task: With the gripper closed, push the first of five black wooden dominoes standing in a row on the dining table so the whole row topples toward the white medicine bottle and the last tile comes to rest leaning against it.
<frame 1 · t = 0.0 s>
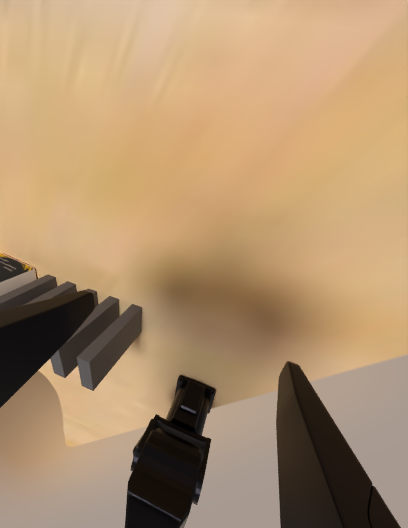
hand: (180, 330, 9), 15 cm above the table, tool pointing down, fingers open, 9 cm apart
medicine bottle: (23, 276, 35), on the table
domino 5: (54, 288, 34), on the table
domino 2: (114, 310, 32), on the table
domino 1: (137, 318, 31), on the table
domino 4: (73, 295, 33), on the table
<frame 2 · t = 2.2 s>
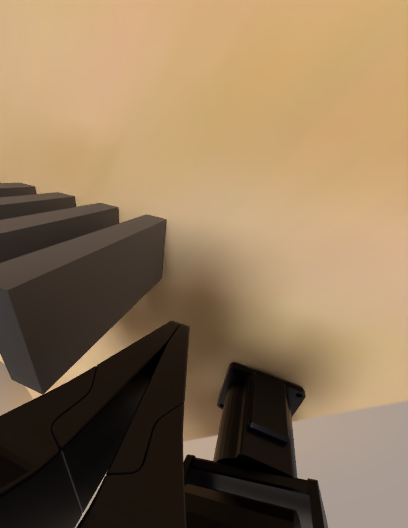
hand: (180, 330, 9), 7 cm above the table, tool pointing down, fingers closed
domino 2: (110, 235, 16), on the table
domino 1: (154, 248, 16), on the table
domino 4: (33, 214, 18), on the table
domino 3: (70, 224, 17), on the table
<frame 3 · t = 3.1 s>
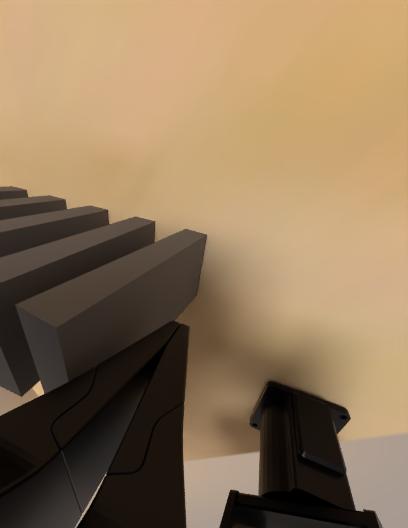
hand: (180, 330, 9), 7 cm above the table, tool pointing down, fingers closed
domino 5: (26, 217, 18), on the table
domino 2: (144, 250, 16), on the table
domino 1: (191, 263, 15), on the table, tilted 6°
domino 4: (62, 227, 17), on the table
domino 3: (101, 238, 16), on the table
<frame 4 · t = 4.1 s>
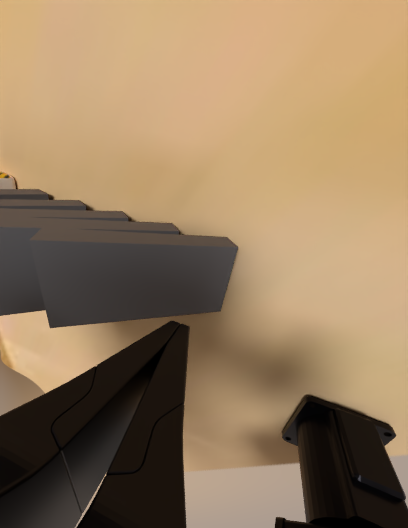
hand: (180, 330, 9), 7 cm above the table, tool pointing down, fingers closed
domino 5: (48, 222, 17), on the table, tilted 17°, touching domino 4, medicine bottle
domino 2: (171, 260, 14), point 1 cm above the table, tilted 48°, touching domino 1
domino 1: (223, 275, 14), point 1 cm above the table, tilted 54°, touching domino 2
domino 4: (85, 234, 16), on the table, tilted 30°, touching domino 3, domino 5
domino 3: (125, 246, 15), on the table, tilted 40°, touching domino 4
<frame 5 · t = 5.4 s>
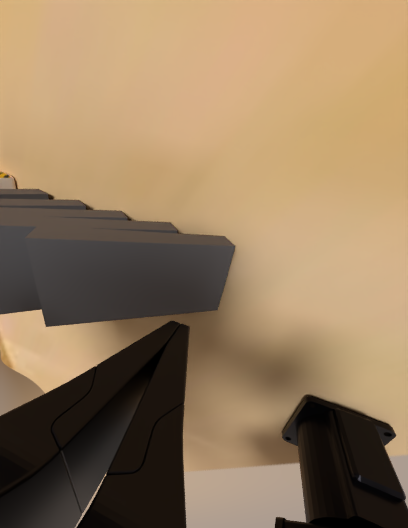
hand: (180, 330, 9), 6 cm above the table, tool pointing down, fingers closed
domino 5: (48, 222, 17), on the table, tilted 17°, touching domino 4, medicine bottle
domino 2: (169, 259, 14), point 1 cm above the table, tilted 48°, touching domino 1, domino 3
domino 1: (220, 274, 14), point 1 cm above the table, tilted 54°, touching domino 2
domino 4: (84, 234, 16), on the table, tilted 30°, touching domino 3, domino 5
domino 3: (124, 246, 15), on the table, tilted 40°, touching domino 2, domino 4
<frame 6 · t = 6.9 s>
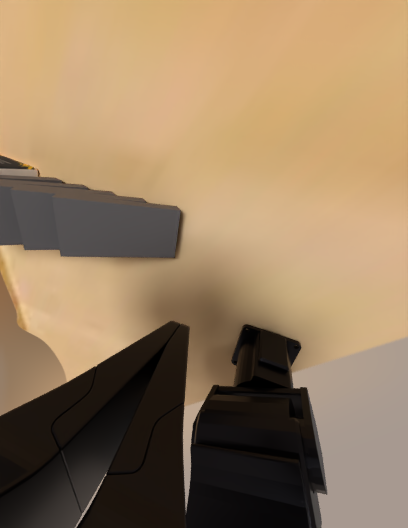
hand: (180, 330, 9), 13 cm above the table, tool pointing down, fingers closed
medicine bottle: (21, 190, 25), on the table, touching domino 5
domino 5: (61, 201, 24), on the table, tilted 17°, touching domino 4, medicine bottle
domino 2: (143, 223, 21), point 1 cm above the table, tilted 47°, touching domino 1, domino 3
domino 1: (175, 232, 21), point 1 cm above the table, tilted 53°, touching domino 2
domino 4: (87, 209, 23), on the table, tilted 30°, touching domino 3, domino 5
domino 3: (113, 216, 22), on the table, tilted 39°, touching domino 2, domino 4
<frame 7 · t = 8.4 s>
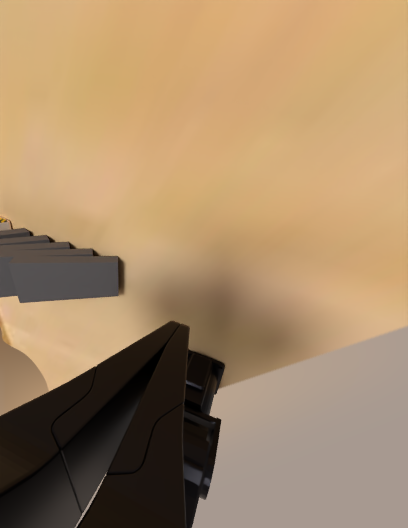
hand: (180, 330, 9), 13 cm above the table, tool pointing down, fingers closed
domino 5: (30, 246, 29), on the table, tilted 17°, touching domino 4, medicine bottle
domino 2: (93, 268, 26), point 1 cm above the table, tilted 46°, touching domino 1, domino 3
domino 1: (118, 276, 25), point 1 cm above the table, tilted 52°, touching domino 2
domino 4: (50, 253, 28), on the table, tilted 30°, touching domino 3, domino 5
domino 3: (71, 261, 27), on the table, tilted 39°, touching domino 2, domino 4
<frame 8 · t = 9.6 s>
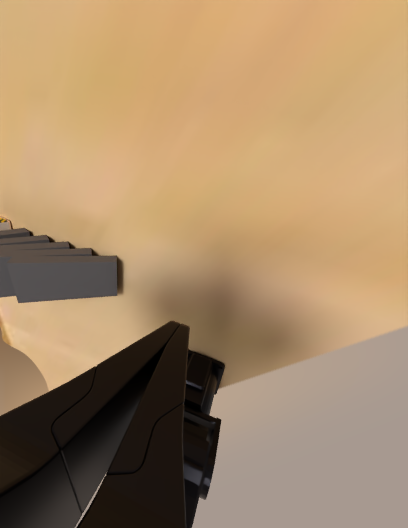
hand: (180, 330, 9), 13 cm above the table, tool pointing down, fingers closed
domino 5: (30, 246, 29), on the table, tilted 17°, touching domino 4, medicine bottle
domino 2: (92, 268, 26), point 1 cm above the table, tilted 46°, touching domino 1, domino 3
domino 1: (116, 276, 25), point 1 cm above the table, tilted 52°, touching domino 2
domino 4: (50, 253, 28), on the table, tilted 29°, touching domino 3, domino 5
domino 3: (70, 260, 27), on the table, tilted 38°, touching domino 2, domino 4
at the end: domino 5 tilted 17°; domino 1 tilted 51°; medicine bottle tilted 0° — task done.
